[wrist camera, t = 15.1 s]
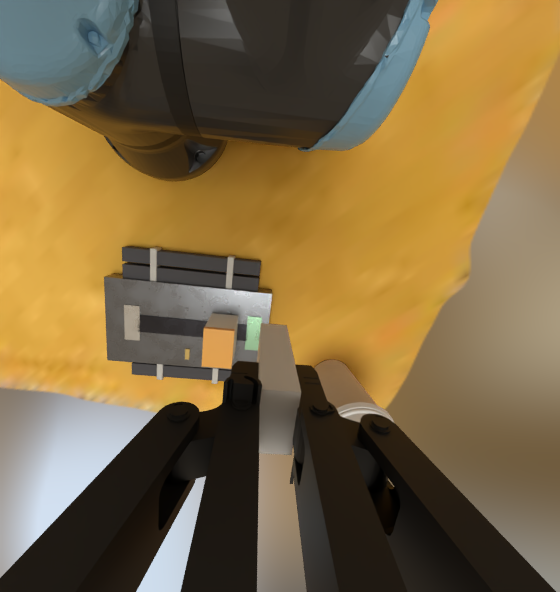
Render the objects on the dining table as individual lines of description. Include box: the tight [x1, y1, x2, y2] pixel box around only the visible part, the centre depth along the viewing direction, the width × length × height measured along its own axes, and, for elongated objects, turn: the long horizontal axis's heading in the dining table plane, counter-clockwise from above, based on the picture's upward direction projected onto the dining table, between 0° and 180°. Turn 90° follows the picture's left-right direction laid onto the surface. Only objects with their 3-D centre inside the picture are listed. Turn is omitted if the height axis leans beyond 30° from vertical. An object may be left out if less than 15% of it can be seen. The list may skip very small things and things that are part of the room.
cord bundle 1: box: [122, 246, 261, 291], centre depth 38 cm, size 5×18×2 cm, turn 83°
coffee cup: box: [314, 360, 394, 422], centre depth 38 cm, size 10×10×15 cm
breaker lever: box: [202, 313, 238, 369], centre depth 36 cm, size 5×4×6 cm
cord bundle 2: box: [132, 362, 231, 384], centre depth 42 cm, size 3×16×2 cm, turn 83°
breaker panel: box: [104, 273, 272, 370], centre depth 40 cm, size 12×22×3 cm, turn 83°
